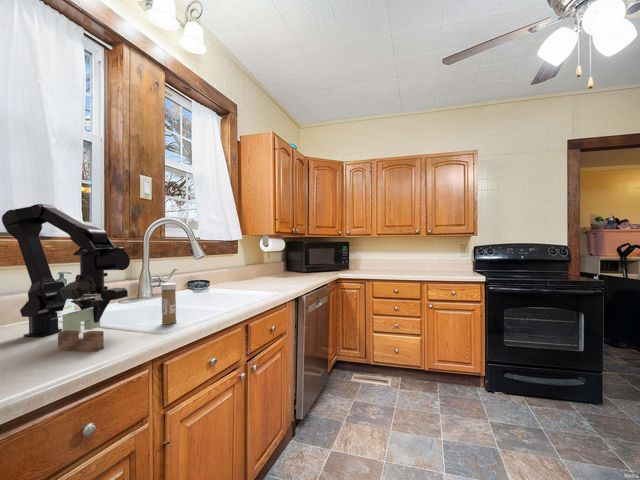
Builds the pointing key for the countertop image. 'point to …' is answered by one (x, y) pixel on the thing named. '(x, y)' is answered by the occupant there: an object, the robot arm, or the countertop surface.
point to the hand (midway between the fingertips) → (92, 322)
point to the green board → (79, 320)
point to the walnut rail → (81, 341)
